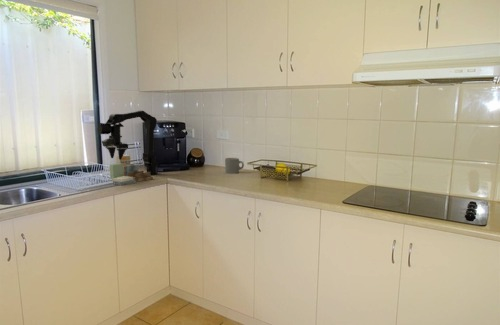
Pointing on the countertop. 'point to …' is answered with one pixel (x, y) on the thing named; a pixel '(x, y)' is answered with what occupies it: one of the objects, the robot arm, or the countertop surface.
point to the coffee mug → (232, 165)
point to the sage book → (116, 170)
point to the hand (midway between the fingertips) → (116, 158)
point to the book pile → (123, 180)
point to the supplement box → (123, 160)
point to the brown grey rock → (136, 173)
